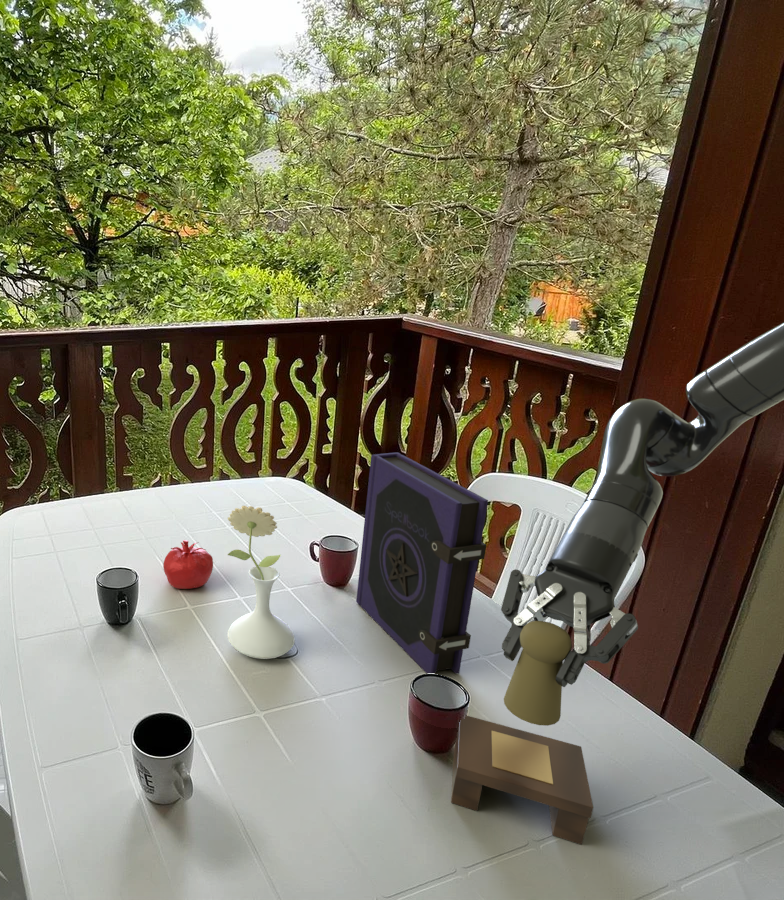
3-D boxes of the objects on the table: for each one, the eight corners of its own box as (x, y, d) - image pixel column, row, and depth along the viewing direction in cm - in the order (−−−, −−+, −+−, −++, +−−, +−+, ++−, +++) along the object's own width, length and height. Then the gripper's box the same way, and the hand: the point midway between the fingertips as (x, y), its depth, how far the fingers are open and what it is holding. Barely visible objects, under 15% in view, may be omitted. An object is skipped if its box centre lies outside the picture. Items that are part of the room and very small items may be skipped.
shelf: (571, 784, 81) (581, 745, 79) (582, 848, 72) (593, 807, 70) (453, 749, 86) (460, 712, 85) (450, 806, 78) (457, 766, 76)
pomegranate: (213, 595, 124) (214, 552, 121) (161, 594, 124) (161, 551, 121) (212, 570, 133) (213, 530, 130) (164, 569, 134) (164, 529, 131)
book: (354, 602, 122) (369, 454, 112) (383, 598, 123) (400, 451, 114) (430, 680, 100) (456, 505, 91) (464, 674, 102) (493, 501, 92)
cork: (560, 732, 72) (579, 650, 69) (501, 713, 75) (516, 633, 72) (560, 701, 77) (578, 622, 74) (505, 684, 80) (520, 608, 77)
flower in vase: (305, 641, 110) (315, 507, 102) (273, 674, 101) (281, 532, 93) (241, 615, 117) (246, 489, 110) (206, 645, 109) (208, 510, 101)
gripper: (529, 513, 79) (465, 630, 76) (665, 556, 68) (597, 694, 65) (541, 540, 84) (481, 651, 81) (670, 584, 73) (607, 714, 70)
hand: (533, 669), depth 73 cm, fingers closed on cork, 5 cm apart
